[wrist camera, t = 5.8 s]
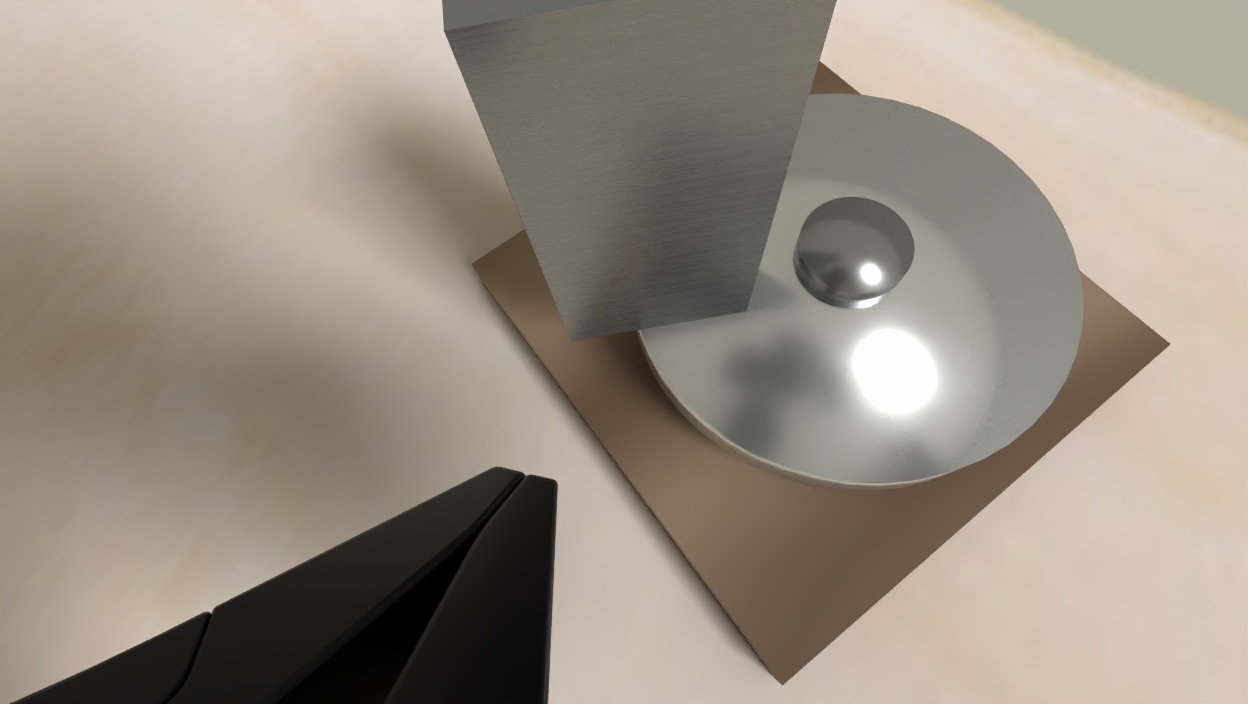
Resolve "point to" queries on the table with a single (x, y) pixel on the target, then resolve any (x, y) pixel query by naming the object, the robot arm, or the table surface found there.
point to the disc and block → (775, 233)
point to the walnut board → (779, 508)
